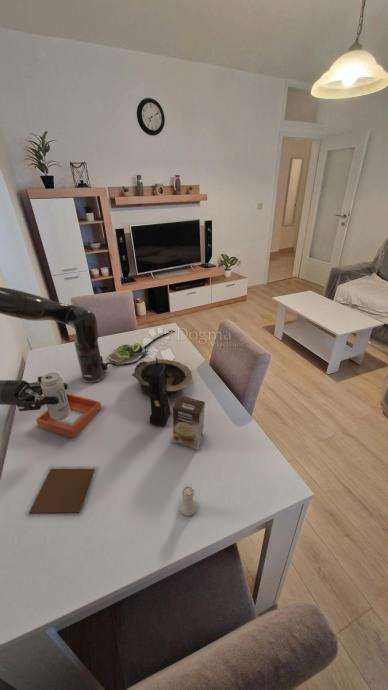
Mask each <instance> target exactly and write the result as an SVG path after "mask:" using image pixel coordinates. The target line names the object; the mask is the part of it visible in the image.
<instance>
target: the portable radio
mask: <svg viewBox="0 0 388 690" xmlns="http://www.w3.org/2000/svg"><path fill="white" fill-rule="evenodd" d="M155 360H156V364H151V366H150V368H149V369H148V371H147V372H146V381H148V382H149V390H150V395H149V400H150V402H149V403H150V410H151V411H150V416H149V424H150V425H153V426H157V427H165V426H166V425H167V423H168V421H169V418H170V416H171V409H170V400H169V399H170V398H168V393H167V387H166V386H167V376H166V367H165V365H163V364H158V362H157V360H159V358H157V357H156V358H155Z"/></svg>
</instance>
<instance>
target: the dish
mask: <svg viewBox="0 0 388 690" xmlns="http://www.w3.org/2000/svg"><path fill="white" fill-rule="evenodd" d="M66 395H67V399H68V403H69V407H70V410H73V411H76V412H79V413H82V415H81V416H80V417H79V418H78V419H77V420H76V421H75V422H74V423H73V424H69V423H65V422H62V421H60V420H54V419H52V418H51V417H50V414H49V411H48V409H46V410H45V411H44V412H43V413H42V414H40V416H38V417H37V418H36V419H35V422H36V424H37V427H38V428H42V429H45V430H46V431H47V430H48V431H51V432H54V433H57V434H60V435H63V436H66V437H68V438H69V437H70V438H72V439H75V438H76V437H77V436H78V434H80V432H81V431H82V430H83V429H84V428H85V426H87V425H88V424H89V422H90V421H92V419H93V418H95V416H96V415H97V414H98V413H99V412H100V411H101V410H102V406H101V402H100V401H98V400H95V399H91V398H87V397H83V396H79V395H76V394H72V393H68V392H66Z"/></svg>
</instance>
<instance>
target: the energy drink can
mask: <svg viewBox="0 0 388 690" xmlns="http://www.w3.org/2000/svg"><path fill="white" fill-rule="evenodd" d="M41 377H42V378H41V380H42V381H41V384H40V385H41V388H42V391H43V394H42V396H43V397H44V398H45V397H58V399H59V403H58V404H54V405H52V404H46V407H47V410H48V411H49V414H50V417H51V418H52V419H54V420H58V421H62V420H65V419H66V418H68V416H69V415H70V413H71V409H70V407H69V403H68V399H67V395H66V393H67V392H66V391H67V390H65V387H64V383H65V382H64V380H63V378H62V377H61V376H60V374H59V373H57V372H48V373H46V374H44V375H43V376H41Z"/></svg>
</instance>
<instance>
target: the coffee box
mask: <svg viewBox="0 0 388 690" xmlns="http://www.w3.org/2000/svg"><path fill="white" fill-rule="evenodd" d="M205 403H206V402H205V401H203V400H199V399H195V398H191V397H189V396H185V395H181V394H179V395H178V397H177V398H176V400H175V402H174V405H173V406H172V438H173V439H172V442H173V443H174V444H177V445H180V446H184V447H187V448H190V449H193V450H197V451H198V449H199V447H200V445H201V442H202V439H203V436H204V423H205V419H204V418H205V406H206V405H205Z"/></svg>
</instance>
